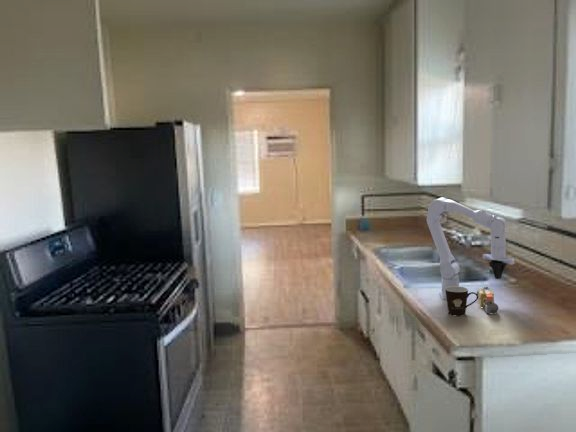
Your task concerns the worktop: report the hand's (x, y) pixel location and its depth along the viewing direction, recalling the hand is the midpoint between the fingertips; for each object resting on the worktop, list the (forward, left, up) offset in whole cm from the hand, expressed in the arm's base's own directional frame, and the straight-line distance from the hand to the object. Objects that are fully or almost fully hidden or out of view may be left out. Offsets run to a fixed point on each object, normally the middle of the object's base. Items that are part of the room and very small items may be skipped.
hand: (498, 278), depth 215 cm
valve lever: (+11, -7, -4) cm, 13 cm away
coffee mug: (+15, -18, -11) cm, 26 cm away
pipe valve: (+7, -6, -10) cm, 14 cm away
